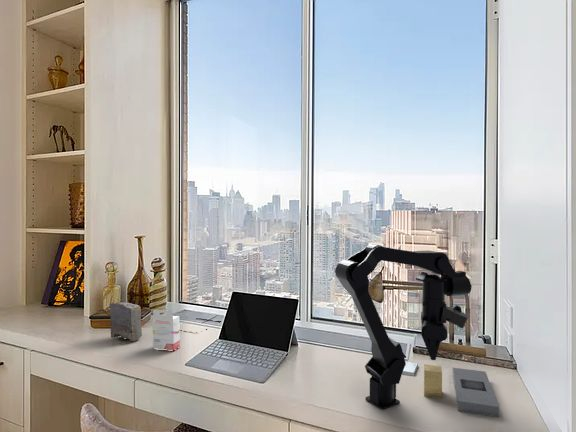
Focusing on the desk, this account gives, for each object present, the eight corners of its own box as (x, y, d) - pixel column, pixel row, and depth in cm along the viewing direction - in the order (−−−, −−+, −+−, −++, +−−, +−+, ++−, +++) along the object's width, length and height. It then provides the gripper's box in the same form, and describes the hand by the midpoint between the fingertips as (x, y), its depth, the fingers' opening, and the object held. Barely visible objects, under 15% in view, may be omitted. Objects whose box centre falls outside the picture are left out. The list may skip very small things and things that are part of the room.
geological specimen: (142, 339, 152) (142, 301, 152) (130, 344, 147) (130, 304, 147) (121, 336, 156) (121, 299, 156) (109, 340, 151) (108, 302, 151)
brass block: (442, 398, 104) (442, 372, 104) (424, 396, 105) (424, 370, 105) (441, 391, 108) (441, 366, 108) (424, 389, 110) (424, 364, 110)
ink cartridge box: (180, 347, 143) (180, 307, 143) (173, 352, 139) (173, 310, 138) (159, 345, 145) (159, 306, 145) (152, 350, 141) (151, 309, 140)
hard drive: (418, 363, 126) (379, 356, 131) (414, 372, 118) (373, 365, 124) (418, 368, 126) (379, 361, 131) (414, 377, 118) (373, 370, 124)
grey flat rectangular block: (498, 417, 95) (498, 406, 94) (458, 410, 98) (458, 400, 97) (485, 379, 115) (485, 371, 115) (452, 375, 118) (452, 367, 118)
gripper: (470, 307, 95) (469, 371, 95) (461, 292, 113) (461, 346, 113) (421, 303, 99) (420, 365, 99) (421, 290, 117) (420, 342, 117)
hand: (432, 354), depth 107 cm, fingers open, 9 cm apart
